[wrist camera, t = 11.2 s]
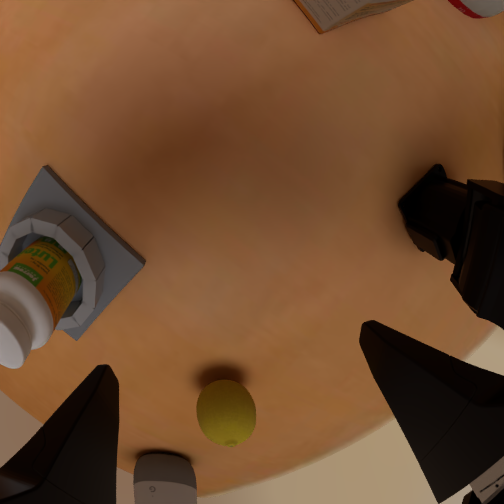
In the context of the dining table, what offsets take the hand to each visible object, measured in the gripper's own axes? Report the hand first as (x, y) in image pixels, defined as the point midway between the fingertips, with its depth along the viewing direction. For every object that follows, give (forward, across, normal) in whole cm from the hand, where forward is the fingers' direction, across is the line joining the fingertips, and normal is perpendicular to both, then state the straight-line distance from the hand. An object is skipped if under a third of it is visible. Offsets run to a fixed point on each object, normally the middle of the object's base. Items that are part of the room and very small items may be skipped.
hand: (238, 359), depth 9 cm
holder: (+13, +13, 0) cm, 19 cm away
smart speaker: (+13, +14, +35) cm, 40 cm away
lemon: (+13, +2, +16) cm, 21 cm away
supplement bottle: (+12, +13, 0) cm, 18 cm away
